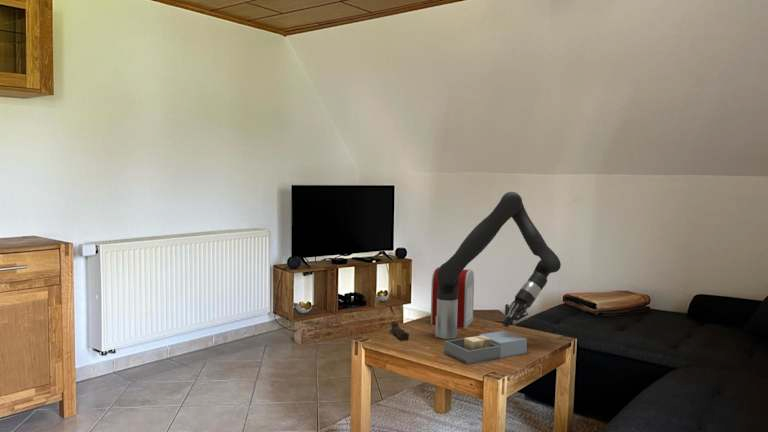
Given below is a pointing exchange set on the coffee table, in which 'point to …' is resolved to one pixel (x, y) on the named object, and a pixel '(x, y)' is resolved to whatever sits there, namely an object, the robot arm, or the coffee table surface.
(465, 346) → the block
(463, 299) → the red rounded-top case
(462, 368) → the coffee table surface
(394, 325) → the hand tool
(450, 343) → the bin
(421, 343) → the coffee table surface
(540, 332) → the coffee table surface
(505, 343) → the platform
